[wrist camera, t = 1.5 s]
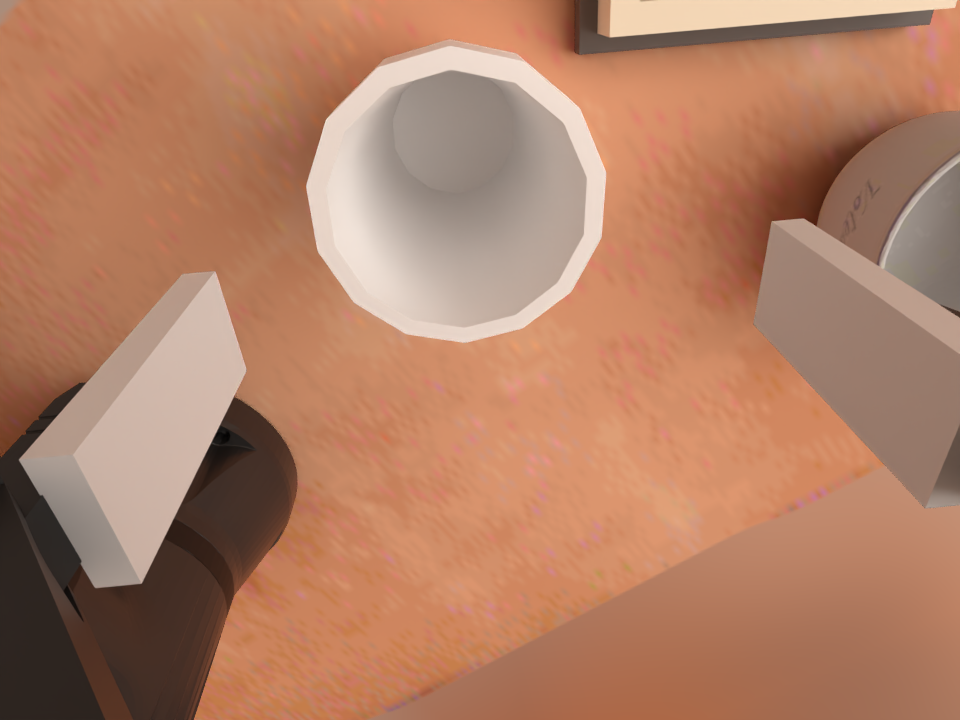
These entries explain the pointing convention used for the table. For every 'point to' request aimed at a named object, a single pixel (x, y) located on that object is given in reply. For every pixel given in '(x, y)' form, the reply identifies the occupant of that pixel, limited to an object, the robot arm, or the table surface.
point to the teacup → (904, 205)
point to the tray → (733, 20)
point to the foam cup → (456, 192)
